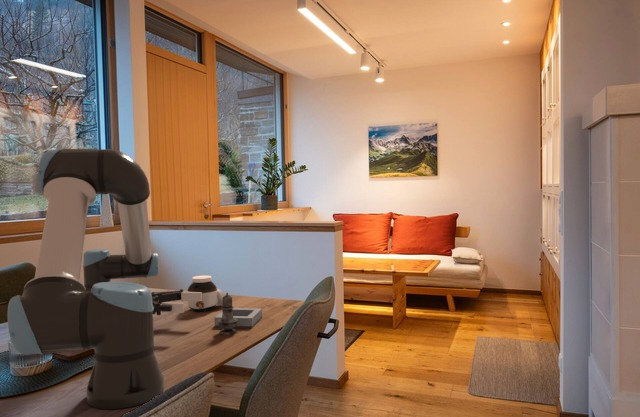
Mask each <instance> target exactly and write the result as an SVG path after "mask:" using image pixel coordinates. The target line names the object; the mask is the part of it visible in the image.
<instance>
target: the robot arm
mask: <svg viewBox="0 0 640 417" xmlns="http://www.w3.org/2000/svg"><path fill="white" fill-rule="evenodd" d="M37 167H38V168H37V171H38V173H37V187H38V189H39V191H40V193H41V195H43V196H44V199H46V201H47V202H48V203H47V204H48V205H47V210H46V213H45V220H44V226H43V230H42V236H41V240H40V241H41V243H40V245H39V246H40V247H39V251H38V252H39V253H38V258H37V263H36V268H35V274H34V278H32V279H30V280H29V281H27V282H26V284H25V285H24V287H23V292H22V295H20V294H18V295H15V296H13V297H11V298H10V299H9V301H8V305H7V328H8V334H9V338H10V342H11V344H12V346H13V348H14V350H15V351H16V352H17V353H19V354H20V355H42V356H43V355H44V354H53V353H60V352H72V351H81V350H91V349H93V350H94V352H93V353H94V362H93V366H92V370H91V372H90V376H89V380H88V383H87V387H86V403H87V404H88V405H89V406H91V407H93V408H97V409H103V410H118V409H126V408H132V407H135V406H139V405H143V404H145V403H148V402H150V401H149V400H151V399H152V398H154V397H155V396H157V395H159V394H160V395H161V394H162V393H164V389H165V383H164V382H165V380H164V376H163V373H162V370H161V368H160V365H159V363H158V360H157V357H156V353H155V340H154V336H155V335H154V319H153V318H154V315H155V314H156V316H161V315H162V313H175V314H176V313H177V314H178V313H181V314H182V313H185V303H184V302H187V301H202V292H187V291H184V290H183V289H182V288H181V289H179V290H171V291H170V290H169V291H158V292H157V291H155V292H154V291H151V289H150V288H149V287H148V286H146V285H144V284H142V283H141V284H140V283H135V282H129V281H128V282H127V281H111V280H123V279H140V278H141V279H142V278H144V279H148V278H151V277H157V276H159V273H160V258H159V257H160V255H159V254H158V253H157V252H152V244H151V233H150V223H149V211H148V201H147V200H148V199H149V197H150V195H151V191H150V183H149V179H148V177H147V175H146V173H145V171H144V170H143V169H142V167H141V166H140V164H139V163H137V161H135V160H134V159H133V158H132V157H131V156H129V155H127V154H126V153H124V152H122V151H120V150H116V149H111V148H106V149H103V148H102V149H101V148H99V149H94V148H65V147H64V148H63V147H62V148H59V149H58V148H57V149H49V150H47V151H45V152H44V153H43V155H42V156H41V158H40V160H39V163H38V166H37ZM97 195H112V199H113V200H114V201H115V202H116V203H117V206H118V207H117V208H118V214H119V221H120V226H121V227H120V228H121V233H122V240H123V247H124V252H125V253H124V254H111V253H110V250H109V249H108V248H95V249H89V250H86V251H85V252H84V253H83V251H84V244H85V238H86V237H85V236H86V235H85V234H86V230H87V229H86V228H87V219H88V212H89V211H88V210H89V207H90V206H92V205H93V204H94V203H95V201H96V199H97ZM82 261H83V263H82ZM82 264H83V265H82ZM82 267H83V283H84V284H83V283H82V282H81V281H80V277H81V271H82V270H81V268H82ZM176 301H182V302H176ZM160 395H159V396H160ZM154 399H155V398H154ZM151 401H152V400H151Z"/></svg>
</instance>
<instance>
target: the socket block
mask: <svg viewBox="0 0 640 417" xmlns="http://www.w3.org/2000/svg"><path fill="white" fill-rule="evenodd" d="M222 315H223V313H222V311H221V312H220V313H218V314H217V315H216V316H214V317H213V318H214V328H221V327H220V326H219V323H218V320H220V319H221V318H222ZM233 317H234V318H236V319H238V321H237V324H236V326H235V327H234V328H240V329H241V328H244V329H246V328H247V329H253V328H254V327H255V326H256V325H257V324H258V322H259V321H260V320H262V318H263V308H253V307H252V308H250V307H246V308H243V307H242V308H241V307H239V308H238V307H234V308H233Z"/></svg>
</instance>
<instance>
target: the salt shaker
mask: <svg viewBox="0 0 640 417" xmlns="http://www.w3.org/2000/svg"><path fill="white" fill-rule="evenodd" d="M224 295H225V296H224V297H223V298H222V303H223V306H222V307H220V308H221V310H222V311H221V312H222V313H223V315H222V318H221V319H220V320H218V323H219V326H220V327H219V328H220V329H221V330H220V331H219V332H218V334H219V335H223V336H226V335H227V336H229V335H234V334H237V333H238V331H237V329H235V328H236V327H235V326H236V324H237V321H238V319H236V318H234V317H233V308H235V307H234V306H233V296H232V295H229V293H228V292H226V293H225V294H224Z"/></svg>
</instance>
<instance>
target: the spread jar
mask: <svg viewBox="0 0 640 417" xmlns="http://www.w3.org/2000/svg"><path fill="white" fill-rule="evenodd" d="M212 278H213V277H212V276H211V275H206V274H205V275H195V276H192V278H191V282H192V283H191V284H190V285H189V286H188V287H187V291H186V292H202V301H186V302H187V306H188V307H189V309H190V310H191V311H193V312H197V313H200V312H201V313H203V312H204V311H205V312H208V311H209V312H210V311H212V310H213V309H214V308H215V307H216V306H218V307H220V306H221V307H220V308H222V307H223V303H222V298H223V297H224V296H225V295H226V294H224V292H223V291H222V290H221V289H220V288H217V285H216V284H215V283H214V282H213V281H212V280H213V279H212Z"/></svg>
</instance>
